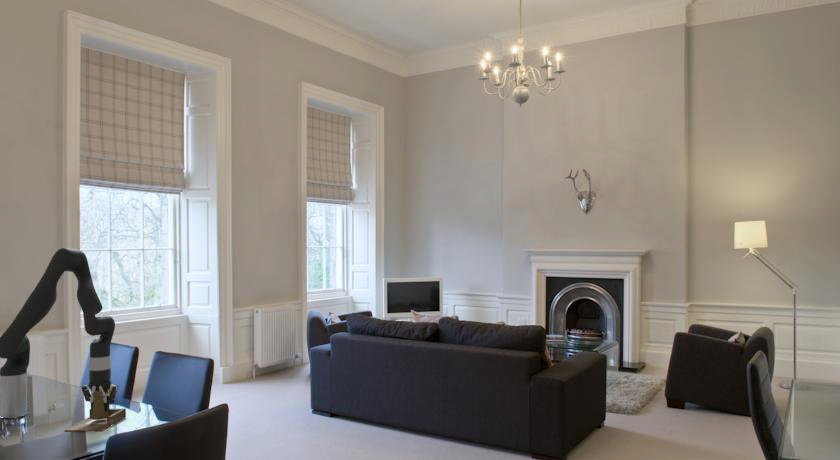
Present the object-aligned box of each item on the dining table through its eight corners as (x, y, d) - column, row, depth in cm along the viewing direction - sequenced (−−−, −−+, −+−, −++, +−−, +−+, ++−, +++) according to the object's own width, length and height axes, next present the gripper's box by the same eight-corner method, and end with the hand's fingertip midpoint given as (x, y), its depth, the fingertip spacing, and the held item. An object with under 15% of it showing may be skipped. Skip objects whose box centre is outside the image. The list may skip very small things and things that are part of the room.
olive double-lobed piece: (87, 419, 238) (87, 390, 238) (98, 414, 244) (98, 387, 244) (101, 420, 237) (101, 391, 237) (112, 415, 243) (112, 387, 243)
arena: (64, 431, 229) (64, 422, 230) (91, 417, 247) (91, 408, 247) (101, 431, 229) (101, 422, 229) (125, 417, 247) (125, 408, 247)
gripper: (122, 365, 244) (122, 409, 244) (87, 365, 244) (87, 409, 244) (113, 369, 237) (113, 414, 237) (76, 369, 237) (76, 414, 237)
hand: (100, 411), depth 240 cm, fingers closed on olive double-lobed piece, 4 cm apart
